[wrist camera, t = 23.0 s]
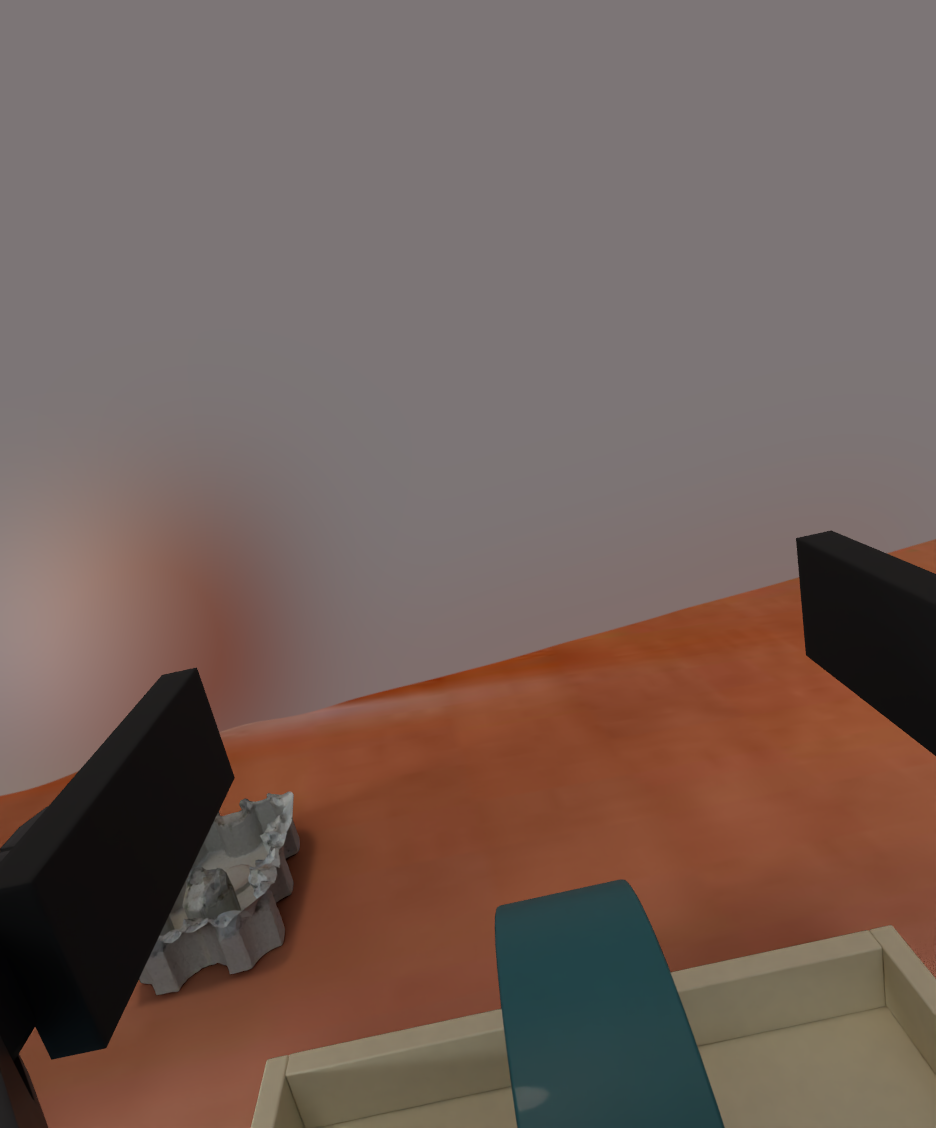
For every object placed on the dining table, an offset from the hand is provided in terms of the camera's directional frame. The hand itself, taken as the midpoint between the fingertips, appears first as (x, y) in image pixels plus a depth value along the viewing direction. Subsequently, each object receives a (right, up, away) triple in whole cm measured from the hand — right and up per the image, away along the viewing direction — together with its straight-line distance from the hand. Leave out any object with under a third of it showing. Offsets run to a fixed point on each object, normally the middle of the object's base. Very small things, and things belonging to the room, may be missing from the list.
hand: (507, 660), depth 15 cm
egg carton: (-13, -16, +21) cm, 30 cm away
